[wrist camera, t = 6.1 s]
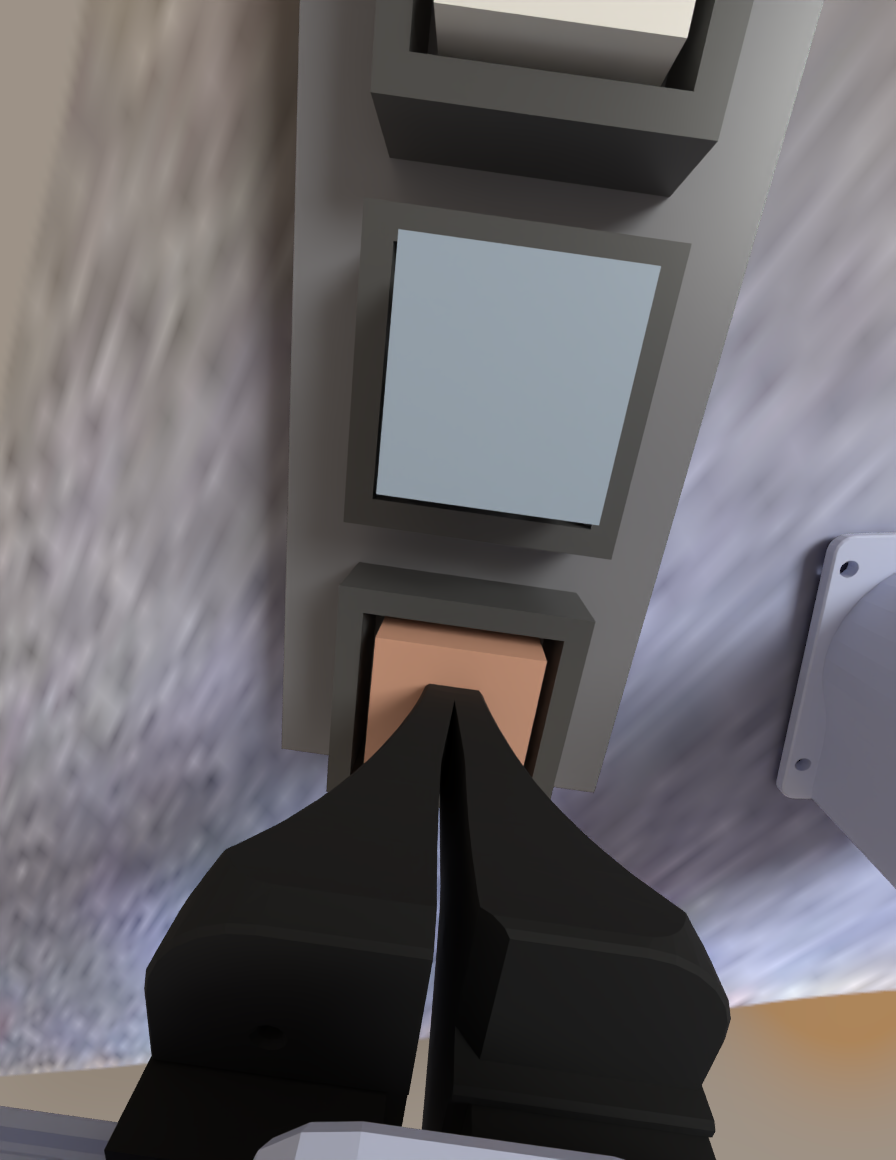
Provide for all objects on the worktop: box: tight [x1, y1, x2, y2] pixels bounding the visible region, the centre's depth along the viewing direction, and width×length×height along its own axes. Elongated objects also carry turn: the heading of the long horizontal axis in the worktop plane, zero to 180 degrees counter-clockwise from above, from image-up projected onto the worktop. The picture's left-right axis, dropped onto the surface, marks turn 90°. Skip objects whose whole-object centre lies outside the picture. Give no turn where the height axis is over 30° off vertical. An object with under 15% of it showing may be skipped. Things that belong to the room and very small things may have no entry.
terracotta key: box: [364, 616, 547, 766], centre depth 12 cm, size 4×4×2 cm
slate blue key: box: [376, 229, 661, 525], centre depth 9 cm, size 4×4×2 cm
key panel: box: [282, 0, 824, 808], centre depth 11 cm, size 22×10×4 cm, turn 172°
